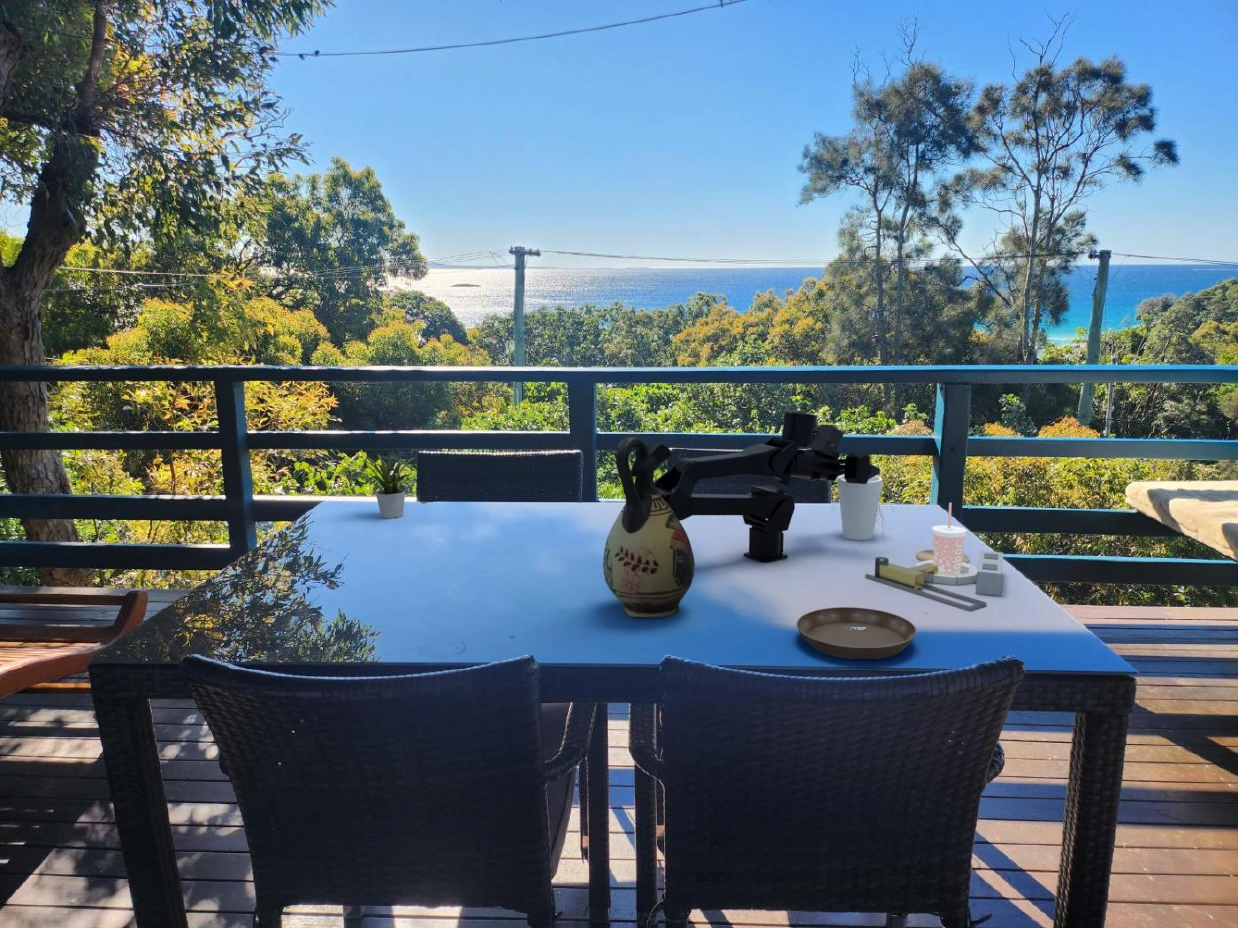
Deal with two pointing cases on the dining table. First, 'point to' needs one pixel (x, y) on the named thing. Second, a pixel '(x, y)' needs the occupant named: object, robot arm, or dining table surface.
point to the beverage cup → (948, 546)
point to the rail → (976, 602)
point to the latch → (903, 572)
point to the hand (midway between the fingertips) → (863, 470)
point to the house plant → (389, 489)
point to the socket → (974, 574)
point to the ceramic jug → (646, 539)
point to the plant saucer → (856, 632)
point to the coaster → (929, 555)
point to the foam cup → (859, 507)
